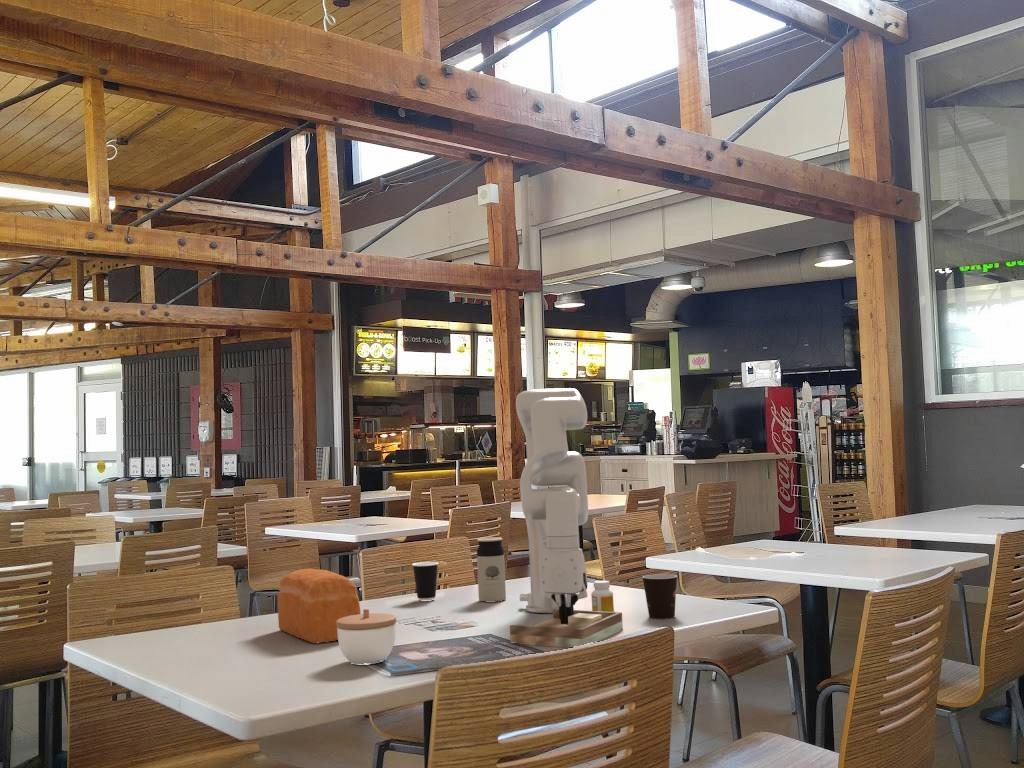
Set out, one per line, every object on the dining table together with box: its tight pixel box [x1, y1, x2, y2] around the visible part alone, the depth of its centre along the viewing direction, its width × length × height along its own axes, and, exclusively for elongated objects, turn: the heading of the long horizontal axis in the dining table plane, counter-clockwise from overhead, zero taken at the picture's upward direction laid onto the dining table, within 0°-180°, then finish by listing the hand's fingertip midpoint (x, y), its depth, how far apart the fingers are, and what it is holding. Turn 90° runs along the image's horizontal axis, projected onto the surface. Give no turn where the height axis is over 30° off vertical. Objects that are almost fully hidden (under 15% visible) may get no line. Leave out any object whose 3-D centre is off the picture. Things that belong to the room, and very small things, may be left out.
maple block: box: [568, 613, 602, 629], centre depth 212 cm, size 6×5×3 cm
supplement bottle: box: [591, 580, 615, 612], centre depth 232 cm, size 5×5×10 cm
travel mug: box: [476, 536, 507, 602], centre depth 273 cm, size 8×8×18 cm
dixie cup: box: [411, 561, 439, 601], centre depth 278 cm, size 8×8×11 cm
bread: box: [276, 568, 361, 644], centre depth 232 cm, size 14×26×16 cm, turn 32°
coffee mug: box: [642, 573, 678, 620], centre depth 236 cm, size 12×9×10 cm
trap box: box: [509, 609, 624, 649], centre depth 215 cm, size 18×22×4 cm
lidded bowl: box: [336, 608, 397, 664], centre depth 197 cm, size 13×13×11 cm
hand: (566, 623), depth 215 cm, fingers closed
